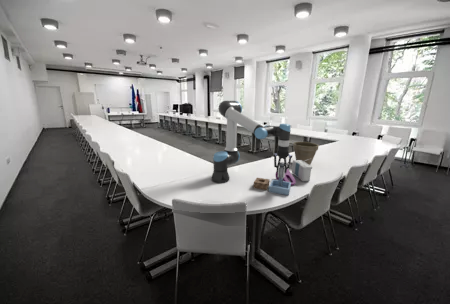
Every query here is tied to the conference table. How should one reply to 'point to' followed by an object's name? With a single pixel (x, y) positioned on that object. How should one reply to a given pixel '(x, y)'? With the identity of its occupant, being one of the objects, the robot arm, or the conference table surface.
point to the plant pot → (305, 151)
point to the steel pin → (281, 174)
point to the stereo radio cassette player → (301, 170)
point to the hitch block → (261, 183)
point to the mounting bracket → (287, 177)
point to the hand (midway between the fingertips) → (281, 176)
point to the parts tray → (280, 190)
